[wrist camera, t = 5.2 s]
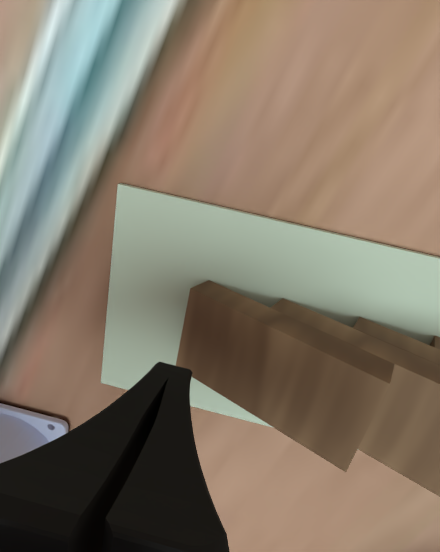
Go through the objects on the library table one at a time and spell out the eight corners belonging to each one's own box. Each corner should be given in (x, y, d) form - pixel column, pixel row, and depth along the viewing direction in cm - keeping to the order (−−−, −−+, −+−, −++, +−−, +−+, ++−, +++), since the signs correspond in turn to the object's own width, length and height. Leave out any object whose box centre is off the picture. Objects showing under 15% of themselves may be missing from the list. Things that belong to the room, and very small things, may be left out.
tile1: (175, 366, 18) (346, 472, 14) (190, 288, 16) (390, 384, 12) (193, 353, 19) (353, 446, 15) (208, 279, 17) (394, 364, 13)
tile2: (247, 385, 18) (440, 496, 14) (270, 307, 16) (498, 410, 12) (260, 370, 19) (439, 469, 15) (282, 298, 17) (492, 388, 13)
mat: (103, 378, 21) (100, 382, 21) (121, 183, 16) (117, 183, 16) (563, 497, 20) (569, 504, 19) (720, 322, 15) (731, 326, 15)
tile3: (321, 403, 17) (537, 522, 14) (353, 327, 16) (612, 439, 12) (329, 388, 19) (528, 492, 15) (359, 316, 17) (594, 413, 13)
